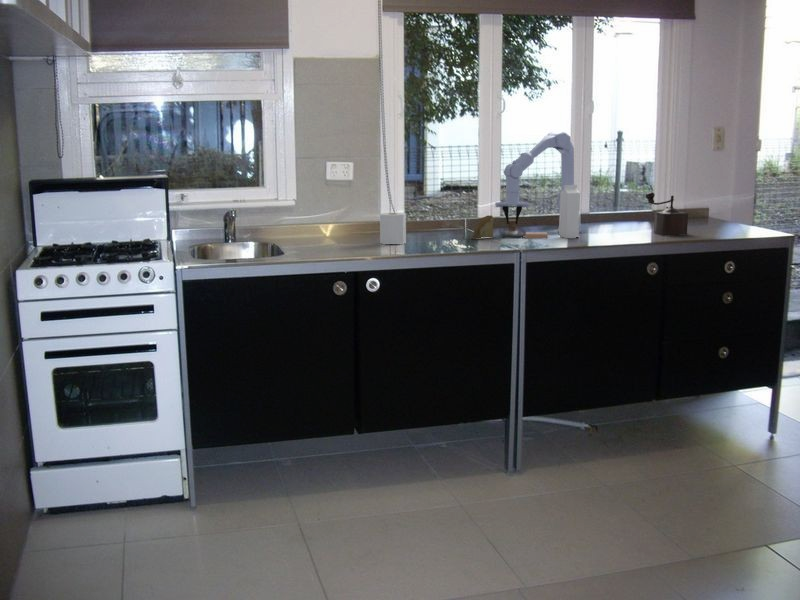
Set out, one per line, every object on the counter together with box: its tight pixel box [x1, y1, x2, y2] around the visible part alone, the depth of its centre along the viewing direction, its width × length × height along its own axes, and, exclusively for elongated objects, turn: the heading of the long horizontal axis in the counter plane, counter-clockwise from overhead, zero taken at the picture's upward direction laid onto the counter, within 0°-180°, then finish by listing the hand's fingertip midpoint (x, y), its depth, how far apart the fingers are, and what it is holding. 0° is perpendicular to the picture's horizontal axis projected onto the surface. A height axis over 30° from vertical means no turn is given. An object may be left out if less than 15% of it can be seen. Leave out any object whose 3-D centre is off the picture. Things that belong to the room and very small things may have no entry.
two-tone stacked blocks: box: [505, 219, 519, 235], centre depth 371 cm, size 5×12×5 cm, turn 171°
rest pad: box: [501, 231, 525, 239], centre depth 372 cm, size 9×12×1 cm
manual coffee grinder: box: [644, 191, 689, 236], centre depth 372 cm, size 16×11×18 cm
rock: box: [471, 215, 494, 240], centre depth 365 cm, size 11×9×10 cm
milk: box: [558, 184, 581, 239], centre depth 364 cm, size 6×6×22 cm
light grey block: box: [379, 212, 407, 245], centre depth 351 cm, size 10×10×12 cm
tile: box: [525, 231, 548, 239], centre depth 367 cm, size 9×2×8 cm
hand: (512, 224), depth 375 cm, fingers closed on two-tone stacked blocks, 3 cm apart
